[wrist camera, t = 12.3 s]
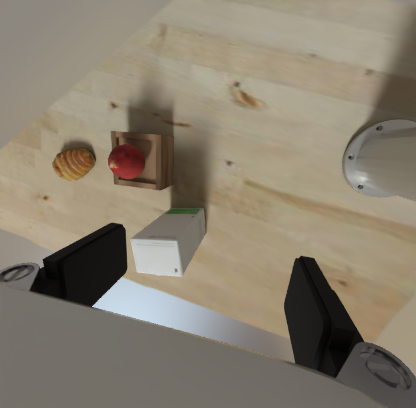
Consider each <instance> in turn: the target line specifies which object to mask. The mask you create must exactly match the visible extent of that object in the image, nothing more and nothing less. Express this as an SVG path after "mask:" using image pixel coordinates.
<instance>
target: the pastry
mask: <svg viewBox="0 0 416 408" xmlns="http://www.w3.org/2000/svg"><path fill="white" fill-rule="evenodd" d="M94 164H95V159H94V157H93V155H92V153H91V152H89V151H88V150H86V149H84V148H82V149H77V148H76V149H68V150H66V151H64V152H63V153H58V154H57V156H56V158H55V160H54V161H53V162H52V165H53V168H54V171H55V172H56V173H57V174H58V175H59V176H60V177H61V178H63V179H65V180H68V181H71V180H78V179H80V178H82V177H83V176H84V175H86V174H87V173H88V172H89V171H90V170H91V169H92V168H93V166H94Z"/></svg>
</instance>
